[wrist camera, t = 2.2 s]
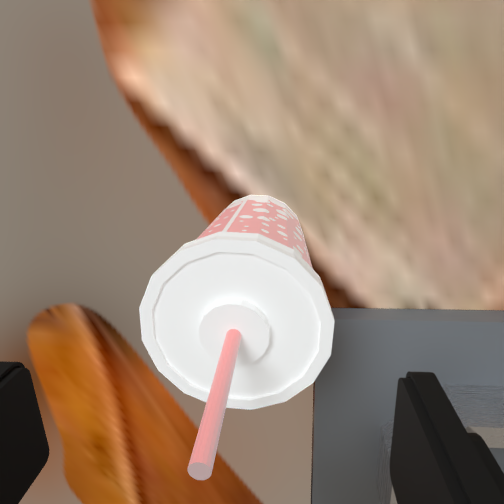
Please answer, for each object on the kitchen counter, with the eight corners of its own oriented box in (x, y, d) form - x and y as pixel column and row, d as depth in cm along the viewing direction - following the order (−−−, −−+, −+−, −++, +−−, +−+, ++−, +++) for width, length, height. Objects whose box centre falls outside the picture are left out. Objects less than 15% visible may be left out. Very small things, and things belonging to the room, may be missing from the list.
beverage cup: (213, 297, 22) (100, 576, 9) (188, 189, 20) (-2, 352, 7) (324, 284, 21) (372, 573, 8) (310, 169, 19) (344, 317, 6)
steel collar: (385, 381, 22) (399, 423, 19) (595, 388, 21) (642, 433, 18) (371, 517, 25) (381, 568, 23) (549, 529, 24) (582, 585, 22)
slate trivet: (315, 307, 22) (316, 318, 21) (680, 313, 20) (703, 325, 19) (310, 534, 28) (310, 552, 27) (586, 554, 26) (599, 574, 25)
